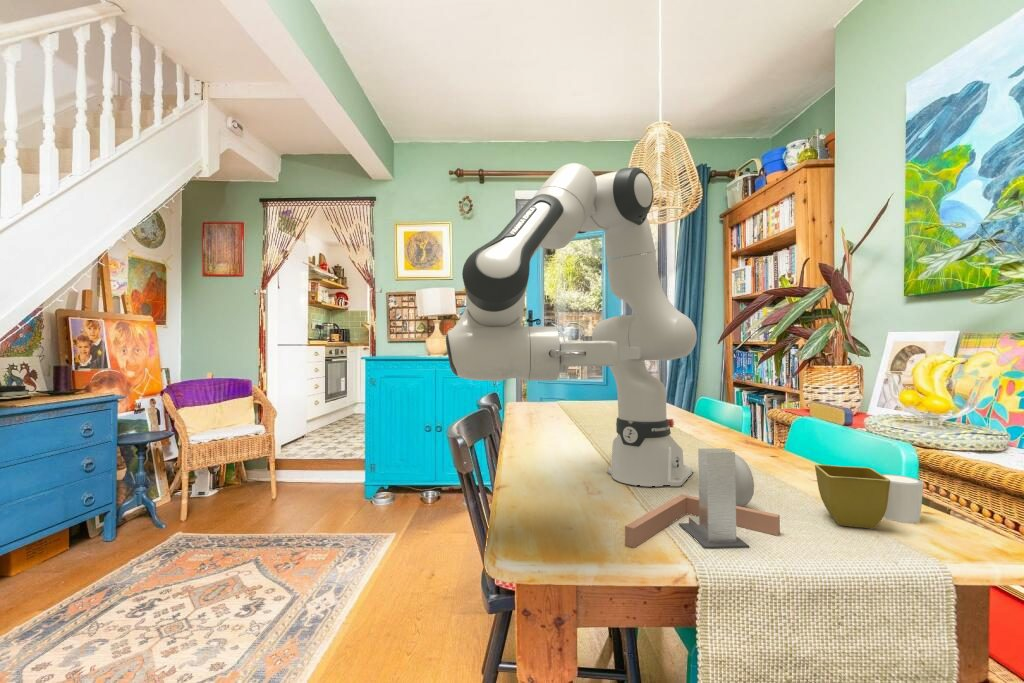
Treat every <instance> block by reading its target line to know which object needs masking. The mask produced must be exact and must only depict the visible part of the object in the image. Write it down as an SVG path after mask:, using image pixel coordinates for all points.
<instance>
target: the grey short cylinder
mask: <svg viewBox="0 0 1024 683" xmlns="http://www.w3.org/2000/svg"><path fill="white" fill-rule="evenodd" d="M880 474H881V473H880ZM881 475H883V476H885V477H886V478H888V479H889V480H890V487H889V496H888V504H887V509H886V512H885V515H884V517H883V518H884V519H887V520H890V521H893V522H897V523H904V524H919V523H920V522H921V513H922V504H923V494H924V481H922V480H921V479H918V478H914V477H911V476H910V477H909V476H904V475H898V474H888V473H887V474H886V473H882V474H881Z"/></svg>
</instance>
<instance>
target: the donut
mask: <svg viewBox="0 0 1024 683" xmlns="http://www.w3.org/2000/svg"><path fill="white" fill-rule="evenodd" d="M735 483H736V506H740V507H745V506H747V505H748V504H750V502H751V501H752V499H753V496H754V493H755V492H754V491H755V482H754V477H753V473H752V470H751V468H750V465H748V462H746V460H745V459H744V458H742V457H741V456H740V455H739V454H736V453H735Z"/></svg>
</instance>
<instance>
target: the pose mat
mask: <svg viewBox="0 0 1024 683" xmlns="http://www.w3.org/2000/svg"><path fill="white" fill-rule="evenodd" d="M679 525H680V526H681V527H682V528H681V527H680V526H679ZM678 526H679V527H680V528H681V529H682V530H684V531H685V530H686V531H687V532H688V533H689V534H690V535H691V536H692V537H693V538H695V539H696V540H697V541H698V542H699V543H700V544H701V545H702V546H703V547H704V548H711V549H735V548H737V549H739V548H740V549H743V548H750V545H749V544H748V543H746V542H745V541H743V540H742V539H741V538H740V537H738V536H737V535H736V542H729V543H708V542H707V541H705V540H704V539H703V538H702V537H701V536H700V535H699V534H698V533H696V532H695V531H694V530H693V529H692V528H691V527H690V526H689V522H680V523H678ZM686 531H685V532H686ZM687 532H686V533H687ZM688 533H687V534H688ZM689 534H688V535H689ZM690 535H689V536H690ZM691 536H690V537H691ZM692 537H691V538H692ZM693 538H692V539H693ZM695 539H694V540H695ZM696 540H695V541H696ZM697 541H696V542H697ZM698 542H697V543H698ZM699 543H698V544H699ZM700 544H699V545H700ZM701 545H700V546H701ZM702 546H701V547H702ZM703 547H702V548H703ZM704 548H703V549H704Z"/></svg>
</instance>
